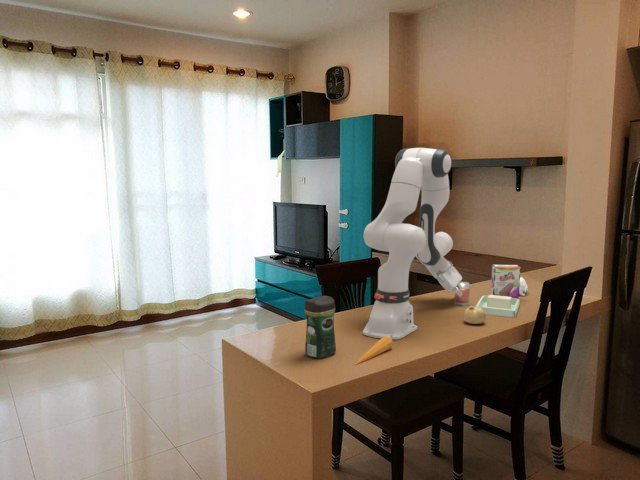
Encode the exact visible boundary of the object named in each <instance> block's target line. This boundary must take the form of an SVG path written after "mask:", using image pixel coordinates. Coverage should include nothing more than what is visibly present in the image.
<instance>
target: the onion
mask: <svg viewBox="0 0 640 480" xmlns="http://www.w3.org/2000/svg"><path fill="white" fill-rule="evenodd" d="M468 306H469V307H467V308H466V309H465V310H464V313H463V318H464V321H465V322H466V323H468V324H471V325H481V324H482V325H483V323H484V321H485V320H486V317H487V316H486V315H487V314H485V312H484V311H483V310H482V309H481V308H479V307H475V306H476V305H468Z"/></svg>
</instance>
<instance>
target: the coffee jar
mask: <svg viewBox="0 0 640 480" xmlns="http://www.w3.org/2000/svg"><path fill="white" fill-rule="evenodd" d="M335 312H336V304H335V299H334V298H333V297H332V296H329V295H321V296H317V297H313V298H310V299H309V298H308V299H306V300H305V301H304V314H305V317H306V329H305V330H306V331H305V334H306V335H305V345H304V348H305V349H304V351H305V355H306V356H307V357H309V358H312V359H314V358H315V359H323V358H326V357H329V356H331V355H334V354H336V351H337V345H336V344H337V343H336V336H335V323H334V322H335V321H334V320H335V318H334V317H335Z"/></svg>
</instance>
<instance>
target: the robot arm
mask: <svg viewBox="0 0 640 480" xmlns="http://www.w3.org/2000/svg"><path fill="white" fill-rule="evenodd" d="M452 163H453V162H452V157H451V154H450V152H448V150H445V149H442V148H437V149H435V148H428V147H413V148H412V147H411V148H410V147H406V148H403V149H400V150H399V151H398V152H397V153H396V155H395V159H394V166H395V170H394V172H393V175H392V178H391V183H390V186H389V190H388V194H387V197H386V200H385V203H384V206H383V207H382V209H381V211H380V212H379V214H378V215H377V217H375V219H374V220H373V221H371V222H370V223H368V224H367V225H366V226H365V228H364V231H363V242H364V244H365V245H366V246H368V247H369V248H371V249H374V250H377V251H380V252H381V251H382V252H388V259H387V261H386V262H384V263H383V264H382V265H380V266H379V268H378V269H377V270H378V271H377V288H376V292H375V294H374V299H375V301H374V304H373V306H372V309H371V312H370V315H369V319H368V320H367V321H368V322H367V323H366V325H365V326H364V328H363V330H362V335H364V336H367V337H370V338H376V339H381V338H383V337H385V336H387V337H390V338H391V339H392V340H401V339H402V338H404V337H406V336H408V335H410V334H411V333H413V332H415V331H417V330H418V326H417V325H416V324H414V306H413V305H412V304H411V303H410V289H409V278H410V277H409V275H410V268H411V265H412V262H413V261H414V259H415V257H416V259H417V260H418V261H419V262H420V263H421V264H422V265H424V266H425V267H426V269H427V271H429V273H430V274H431V275H432V276H433V278H435V279H436V280H437V281H438V283H439V284H440V285H441V286H442V288H443V289H444V290H445V291H446V292H448V293H450V292H451V291H452V292H453V293H454V294H455V293H456V294H457V295H458V296H459V297H461V296H462V295H463V293H462V291H460V290H459V289H458V288H457V287H456V285H457V284H458V283H459V282H460V281H462V280H463V276H462V275H461V273H459V271H458V270H457V269H456V267H454V266H453V265H454V264H453V263H452V261H449V260H448V259H446V257H444V256H446V255H447V254H448V253H449V252H450V251H451V250H452V249H453V246H454V241H453V237H452V236H451V235H450V234H448V233H447V232H445V231H438V232H435V229H436V228H435V227H436V226H435V225H436V221H437V218H438V216H439V215H440V213H441V211H442V210H443V209H444V208H445V206H447V204H448V202H449V200H450V192H451V191H450V179H449V173H450V171H451V169H452ZM420 193H421V204H420V208H419V209H420V210H419V214H418V215H419V216H418V217H419V218H418V219H419V220H418V226H417V225H413V224H411V223H404V220H405V219H406V218H407V217H408V216H409V215H411V214H413V213H414V212H415V211H416V209H417V207H418V201H419V197H420Z"/></svg>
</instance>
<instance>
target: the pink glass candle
mask: <svg viewBox="0 0 640 480" xmlns="http://www.w3.org/2000/svg"><path fill="white" fill-rule="evenodd" d="M470 285H471V283H470V282H469V281H462V280H461V281H460V282H459V283H458V284H457V285H456V287H457V288H458V289H459V290H460V291H462V293H463V295H462V296H461V297H459V296H458V295H457V294H456V293H455V292H454V299H453V300H454V305H455V306H460V307H462V306H463V307H466V306H470V305H469V304H470Z"/></svg>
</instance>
